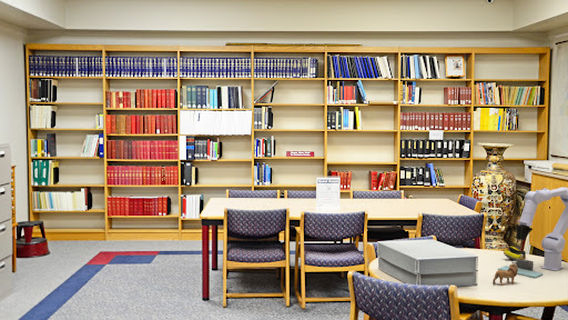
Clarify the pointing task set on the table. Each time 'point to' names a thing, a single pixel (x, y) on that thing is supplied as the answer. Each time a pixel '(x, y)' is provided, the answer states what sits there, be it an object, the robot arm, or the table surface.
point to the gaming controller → (514, 253)
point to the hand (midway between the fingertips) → (520, 239)
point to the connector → (524, 264)
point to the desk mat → (523, 272)
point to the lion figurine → (506, 274)
